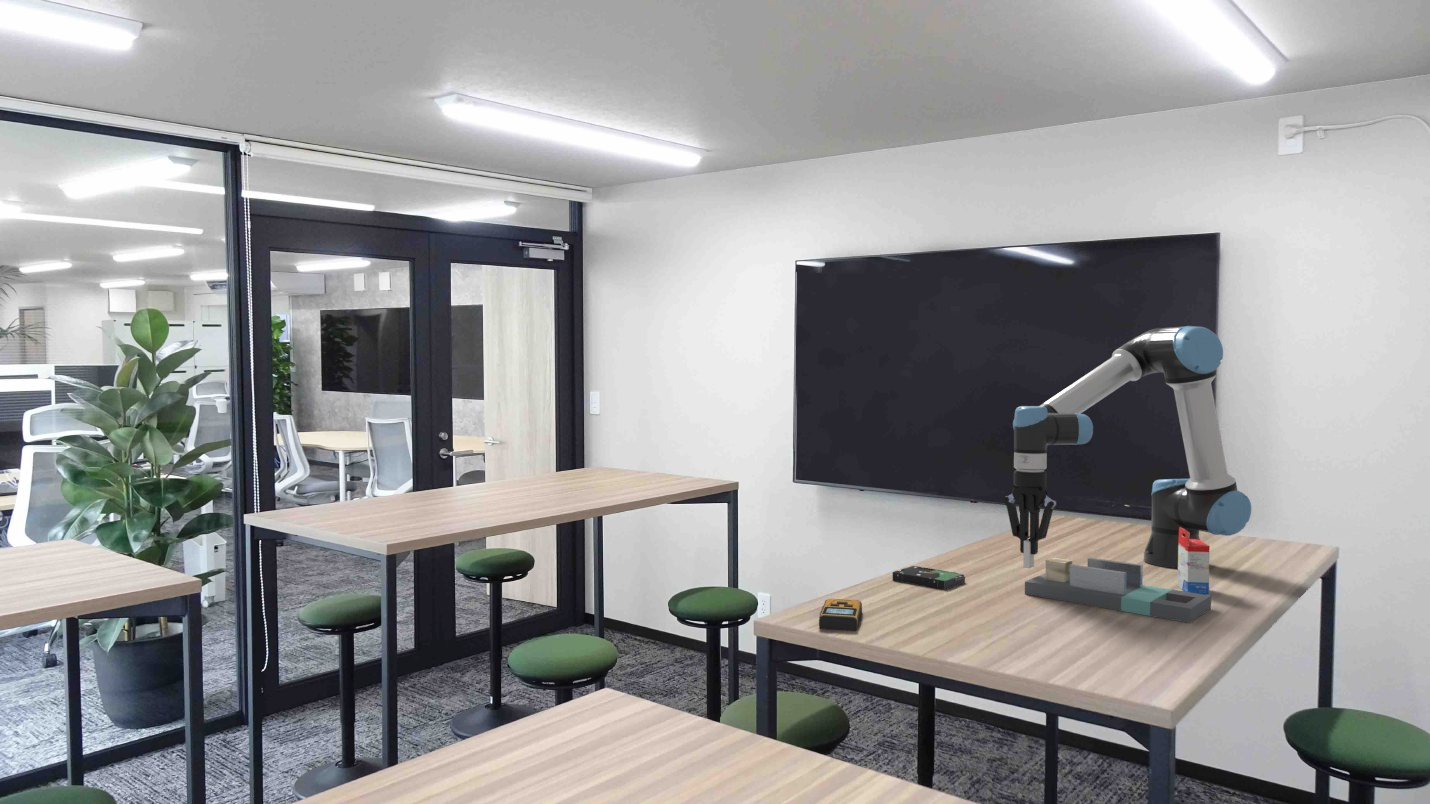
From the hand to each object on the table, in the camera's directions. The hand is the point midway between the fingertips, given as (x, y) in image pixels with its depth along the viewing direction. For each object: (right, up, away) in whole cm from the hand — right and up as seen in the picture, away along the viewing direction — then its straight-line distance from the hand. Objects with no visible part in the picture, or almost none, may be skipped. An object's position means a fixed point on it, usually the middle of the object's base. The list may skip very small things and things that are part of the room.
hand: (1028, 566), depth 225 cm
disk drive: (-23, -5, +6) cm, 24 cm away
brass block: (+5, -2, -5) cm, 8 cm away
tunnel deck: (+15, -5, -14) cm, 21 cm away
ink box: (+38, -5, -4) cm, 39 cm away
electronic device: (-50, -7, -29) cm, 58 cm away
